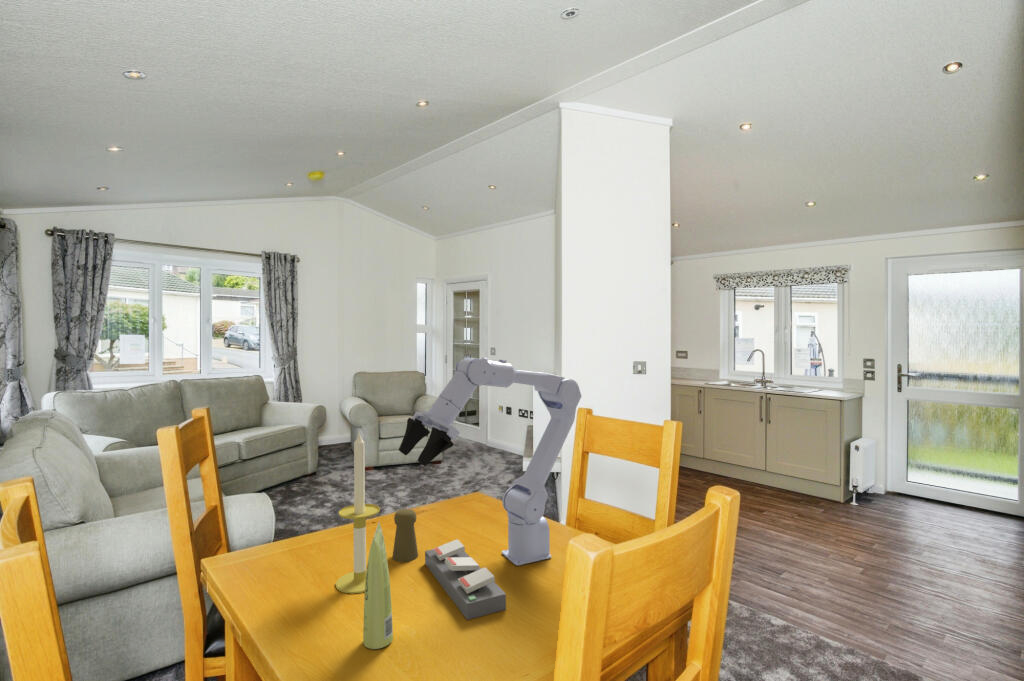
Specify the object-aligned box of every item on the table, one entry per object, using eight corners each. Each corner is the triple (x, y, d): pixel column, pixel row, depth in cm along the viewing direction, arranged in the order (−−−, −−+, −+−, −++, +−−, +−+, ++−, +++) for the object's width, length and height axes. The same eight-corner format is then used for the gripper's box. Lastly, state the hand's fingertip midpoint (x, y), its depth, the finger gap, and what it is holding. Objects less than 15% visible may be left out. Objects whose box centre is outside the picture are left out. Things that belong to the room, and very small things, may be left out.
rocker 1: (458, 543, 117) (457, 538, 117) (465, 550, 113) (464, 545, 113) (433, 553, 115) (432, 548, 115) (439, 560, 111) (439, 555, 111)
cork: (412, 563, 117) (412, 515, 117) (388, 560, 118) (387, 514, 118) (422, 552, 123) (421, 507, 123) (398, 550, 124) (398, 505, 124)
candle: (393, 577, 110) (393, 428, 110) (360, 598, 101) (359, 436, 101) (359, 567, 115) (359, 424, 115) (324, 586, 106) (323, 432, 106)
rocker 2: (470, 561, 110) (471, 556, 110) (478, 570, 106) (479, 564, 106) (444, 562, 107) (445, 556, 108) (451, 570, 104) (452, 565, 104)
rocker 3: (486, 571, 103) (485, 566, 103) (495, 580, 99) (494, 575, 99) (458, 583, 100) (457, 578, 100) (467, 593, 96) (466, 588, 96)
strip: (457, 556, 120) (457, 541, 120) (505, 609, 97) (505, 590, 97) (425, 563, 117) (425, 547, 117) (467, 620, 93) (467, 600, 93)
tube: (355, 641, 87) (354, 528, 87) (380, 628, 91) (379, 520, 91) (374, 654, 83) (373, 536, 83) (399, 640, 87) (399, 527, 87)
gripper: (419, 387, 112) (381, 439, 107) (457, 401, 102) (417, 458, 97) (439, 405, 116) (403, 455, 112) (477, 419, 106) (440, 476, 101)
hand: (411, 458), depth 104 cm, fingers open, 7 cm apart
